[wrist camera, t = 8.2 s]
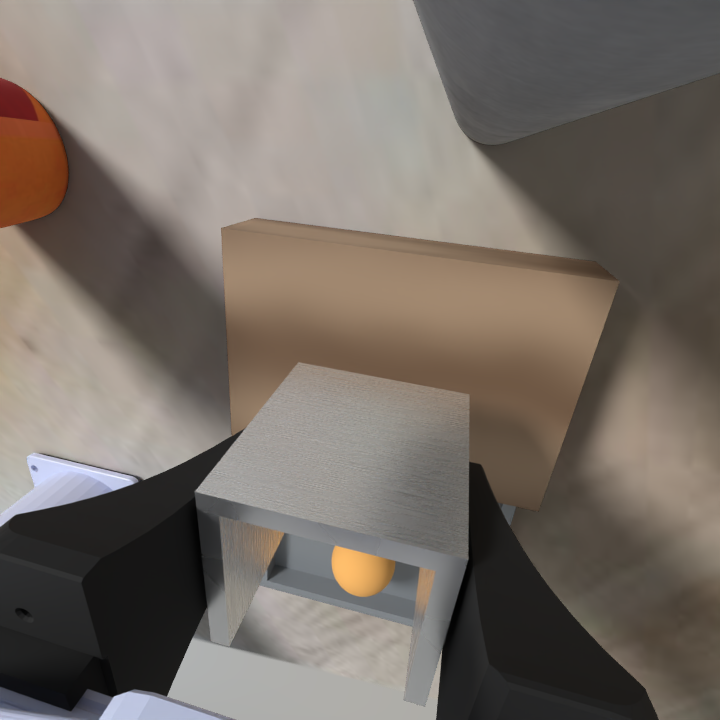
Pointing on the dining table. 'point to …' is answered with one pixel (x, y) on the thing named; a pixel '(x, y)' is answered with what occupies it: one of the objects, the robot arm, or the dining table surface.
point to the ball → (361, 571)
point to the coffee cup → (28, 158)
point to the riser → (420, 331)
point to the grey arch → (344, 495)
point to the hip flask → (563, 57)
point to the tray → (317, 582)
